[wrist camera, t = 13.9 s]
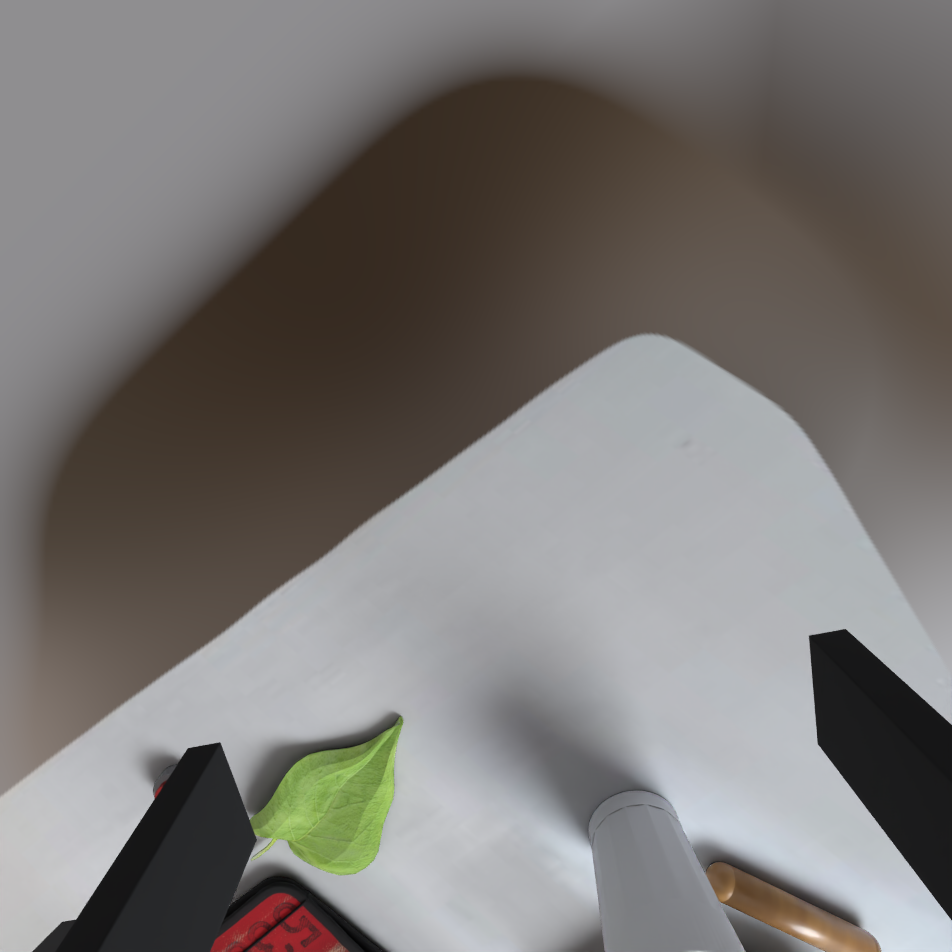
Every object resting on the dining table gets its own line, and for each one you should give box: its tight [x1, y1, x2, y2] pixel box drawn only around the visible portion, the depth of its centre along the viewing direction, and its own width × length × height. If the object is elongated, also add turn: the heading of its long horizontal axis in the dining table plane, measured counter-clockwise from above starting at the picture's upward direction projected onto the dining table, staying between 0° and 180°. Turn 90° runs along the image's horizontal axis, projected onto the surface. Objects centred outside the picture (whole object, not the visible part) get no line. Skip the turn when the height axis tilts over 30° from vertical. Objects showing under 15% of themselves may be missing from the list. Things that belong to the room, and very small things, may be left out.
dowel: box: [705, 862, 881, 952], centre depth 45 cm, size 14×2×2 cm, turn 61°
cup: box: [589, 791, 745, 952], centre depth 39 cm, size 8×8×12 cm
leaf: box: [250, 716, 403, 875], centre depth 43 cm, size 9×16×2 cm, turn 133°
